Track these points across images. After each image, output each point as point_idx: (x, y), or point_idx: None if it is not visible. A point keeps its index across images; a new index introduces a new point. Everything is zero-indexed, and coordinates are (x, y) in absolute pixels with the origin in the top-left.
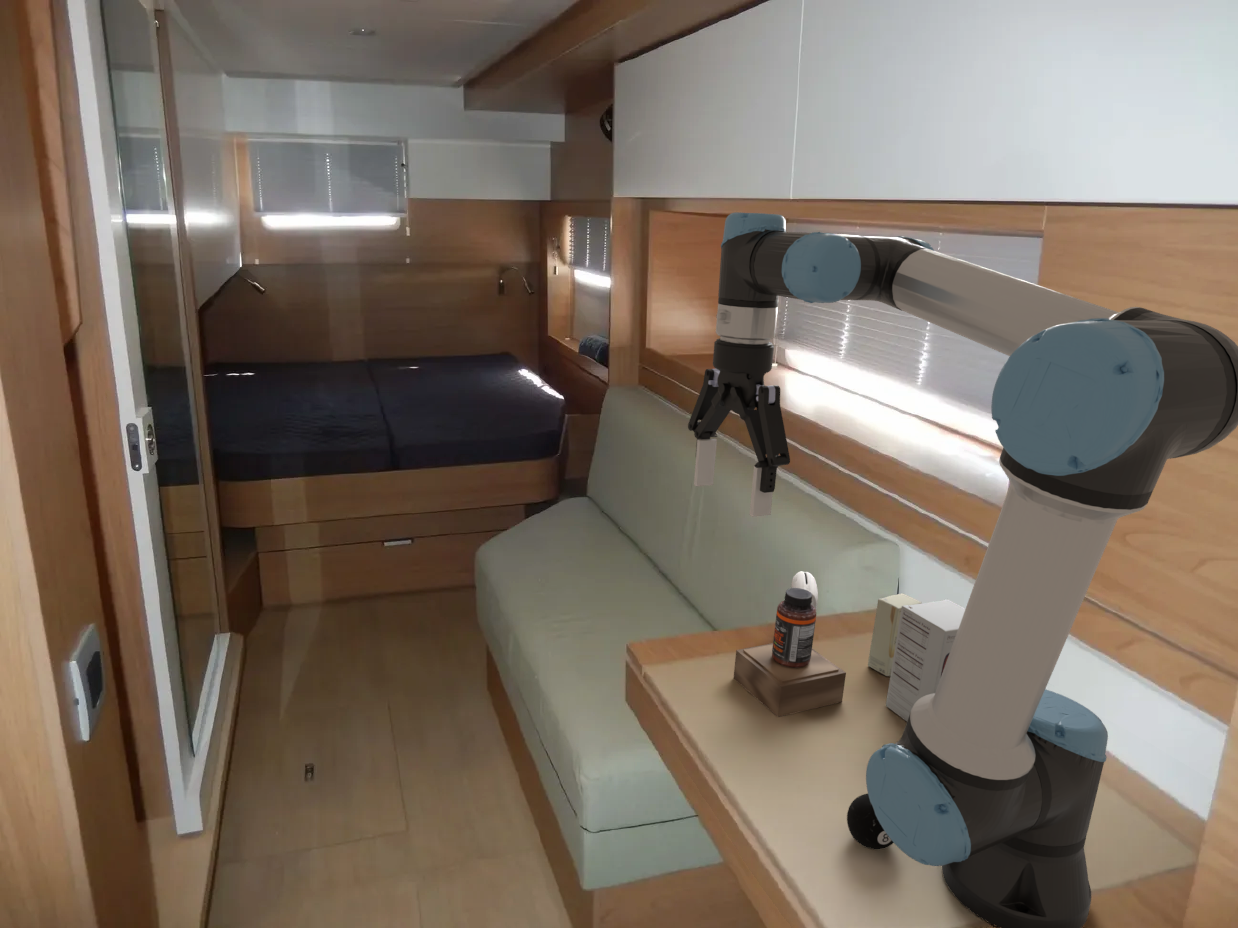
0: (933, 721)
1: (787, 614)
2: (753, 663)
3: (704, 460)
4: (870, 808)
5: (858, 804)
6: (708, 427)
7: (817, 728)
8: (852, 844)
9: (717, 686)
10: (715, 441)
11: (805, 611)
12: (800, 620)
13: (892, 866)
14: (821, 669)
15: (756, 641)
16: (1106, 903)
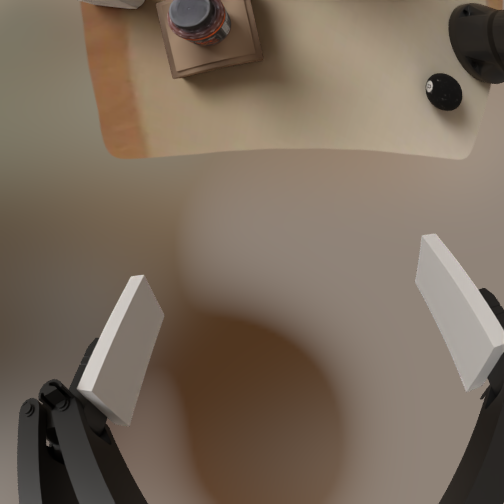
0: None
1: (210, 32)
2: (206, 68)
3: (135, 359)
4: (456, 103)
5: (448, 105)
6: (118, 464)
7: (290, 33)
8: None
9: (195, 98)
10: (96, 389)
11: (216, 8)
12: (223, 18)
13: None
14: (237, 2)
15: (111, 37)
16: None
